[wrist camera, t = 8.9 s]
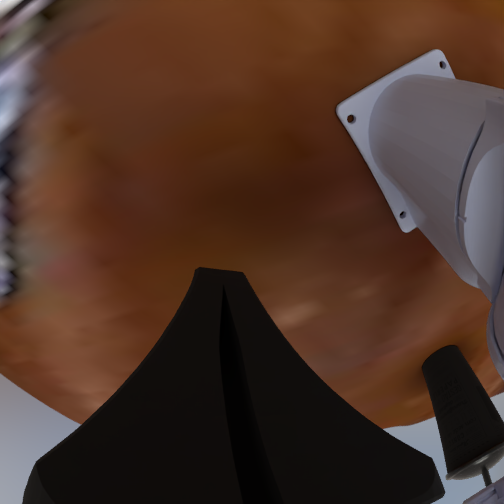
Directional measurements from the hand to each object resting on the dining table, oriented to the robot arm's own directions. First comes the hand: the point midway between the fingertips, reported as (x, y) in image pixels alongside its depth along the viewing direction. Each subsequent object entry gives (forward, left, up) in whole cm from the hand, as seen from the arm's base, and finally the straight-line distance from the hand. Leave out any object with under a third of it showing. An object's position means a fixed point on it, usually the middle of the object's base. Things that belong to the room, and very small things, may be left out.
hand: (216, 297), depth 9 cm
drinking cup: (-29, -6, -10) cm, 31 cm away
